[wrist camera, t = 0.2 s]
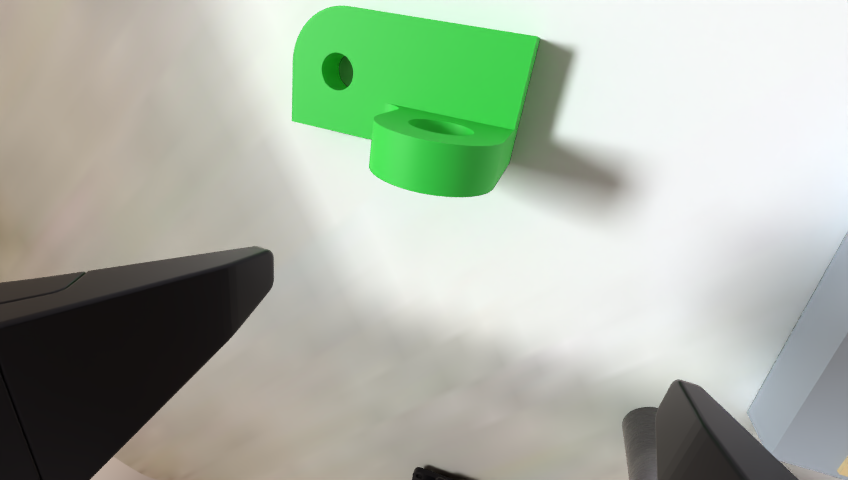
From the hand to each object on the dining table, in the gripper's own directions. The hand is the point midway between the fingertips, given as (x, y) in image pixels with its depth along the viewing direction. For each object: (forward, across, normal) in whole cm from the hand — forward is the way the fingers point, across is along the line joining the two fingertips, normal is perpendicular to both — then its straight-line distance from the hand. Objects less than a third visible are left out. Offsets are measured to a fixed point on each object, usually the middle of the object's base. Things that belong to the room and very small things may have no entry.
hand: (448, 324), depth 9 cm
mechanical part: (+15, +7, -3) cm, 17 cm away
